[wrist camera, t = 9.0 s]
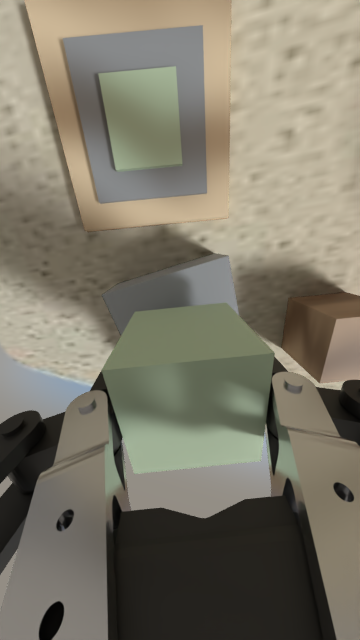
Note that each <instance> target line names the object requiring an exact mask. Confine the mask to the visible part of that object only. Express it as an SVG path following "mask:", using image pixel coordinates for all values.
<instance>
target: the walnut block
mask: <svg viewBox="0 0 360 640" xmlns="http://www.w3.org/2000/svg"><path fill="white" fill-rule="evenodd" d="M281 348H282V349H283V350H284V351H285V352H286V353H288V354H289V355H290V356H291V357H292V358H293V359H294V360H295V361H296V362H297V363H298V364H299V365H300V366H302V367H303V368H304V369H305V370H306V371H307V372H308V373H309V374H310V375H311V376H312V377H313V378H314V379H316V380H317V381H318V382H319V383H329V382H339V381H347V380H359V379H360V296H358V295H354V294H350V293H346V292H345V293H334V294H324V295H314V296H303V297H293V298H288V305H287V312H286V319H285V326H284V332H283V339H282V346H281Z"/></svg>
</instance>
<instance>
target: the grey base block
mask: <svg viewBox="0 0 360 640" xmlns="http://www.w3.org/2000/svg"><path fill="white" fill-rule="evenodd" d="M102 297H103V299H104V301H105V303H106V305H107V307H108V310H109V312H110V314H111V316H112V318H113V320H114V322H115V324H116V326H117V328H118V331H119V333H120V335H122V333H123V332H124V330H125V328H126V326H127V325H128V323H129V321H130V319H131V318H132V316H133V314H134V312H137V311H147V310H157V309H167V308H177V307H187V306H197V305H207V304H216V303H227V304H228V305H229V306H230V307H231V308H232V309H233V310H234V311H235V312H236V313H237V314H238V315H239V312H238V306H237V301H236V295H235V289H234V284H233V278H232V273H231V267H230V262H229V256H227V255H221V254H215V253H214V254H211V255H208V256H205V257H201V258H198V259H195V260H192V261H189V262H185V263H182V264H179V265H176V266H173V267H169V268H166V269H163V270H160V271H157V272H153V273H150V274H147V275H144V276H141V277H137V278H134V279H131V280H128V281H125V282H121V283H118V284H117V285H115V286H114V287H112V288H111V289H109V290H108V291H107V292H105V293H104V294H102Z"/></svg>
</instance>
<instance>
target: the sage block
mask: <svg viewBox="0 0 360 640" xmlns="http://www.w3.org/2000/svg"><path fill="white" fill-rule="evenodd" d="M274 354H275V353H274V352H273V351H272V350H271V349H270V348H269V347H268V346H267V344H266V343H265V342H264V341H263V340H262V339H261V338H260V337H259V336H258V335H257V334H256V333H255V332H254V331H253V330H252V329H251V328H250V327H249V326H248V325H247V324H246V323H245V321H244V320H243V319H242V318H241V317H240V316H239V315H238V314H237V313H236V312H235V311H234V310H233V309H232V308H231V307H230V306H229V305H228V304H227V303H216V304H207V305H197V306H187V307H177V308H167V309H157V310H147V311H137V312H134V314H133V316H132V318H131V319H130V321H129V323H128V325H127V326H126V328H125V330H124V332H123V333H122V335H121V337H120V339H119V341H118V342H117V344H116V346H115V348H114V349H113V351H112V353H111V355H110V356H109V358H108V360H107V362H106V363H105V365H104V367H103V369H102V370H101V371H102V374H103V377H104V380H105V383H106V386H107V390H108V393H109V396H110V399H111V402H112V405H113V408H114V411H115V415H116V418H117V421H118V424H119V427H120V430H121V433H122V437H123V440H124V443H125V446H126V449H127V452H128V455H129V458H130V462H131V465H132V468H133V471H134V474H138V473H148V472H157V471H167V470H177V469H187V468H197V467H206V466H216V465H225V464H236V463H246V462H255V461H261V456H262V448H263V440H264V432H265V425H266V417H267V409H268V401H269V393H270V385H271V378H272V370H273V362H274Z"/></svg>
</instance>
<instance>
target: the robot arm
mask: <svg viewBox="0 0 360 640" xmlns="http://www.w3.org/2000/svg"><path fill="white" fill-rule="evenodd" d="M265 435H266V443H267V452H268V461H269V470H270V480H271V497H264V498H255V499H245V500H243V501H241V502H239V503H237V504H235V505H233V506H231V507H229V508H227V509H225V510H223V511H221V512H219V513H217V514H215V515H213V516H211V517H208V518H198V517H195V516H190V515H187V514H183V513H179V512H176V511H172V510H168V509H164V508H154V509H144V510H134V511H131V506H130V502H129V497H128V487H127V479H126V471H125V461H124V453H123V445H122V433H121V430H120V427H119V424H118V421H117V418H116V415H115V411H114V408H113V405H112V402H111V399H110V396H109V393H108V390H107V386H106V383H105V380H104V377H103V374H102V372H100V374H99V376H98V378H97V379H96V381H95V383H94V385H93V386H92V388H91V390H90V391H89V392H86V393H84V394H82V395H80V396H78V397H77V398H75V399H74V400H73V401H72V402H71V403H70V404H69V406H68V407H67V409H66V412H63V413H61V414H57V415H55V416H52V417H49V418H46V419H43V420H42V418H41V416H40V414H39V413H38V412H37V411H25V412H22V413H19V414H17V415H14V416H12V417H11V418H9V419H7V420H6V421H4V422H3V423H1V424H0V483H1V482H2V481H3V480H4V479H5V478H6V477H7V476H8V477H9V479H10V480H11V481H12V482H13V483H12V484H11V486H10V487H9V488H8V489H7V490H6V492H5V493H4V494H3V495H2V496H1V497H0V574H1V573H2V571H3V570H4V568H5V567H6V565H7V564H8V562H9V561H10V559H11V558H12V556H13V555H14V553H15V552H16V550H17V549H18V550H17V554H16V558H15V561H14V564H13V568H12V571H11V575H10V579H9V582H8V586H7V589H6V593H5V596H4V600H3V604H2V607H1V611H0V640H360V380H347V381H345V382H344V383H343V385H342V389H341V390H333V389H326V388H319V387H315V385H314V384H313V383H312V382H311V381H310V380H309V379H307V378H306V377H304V376H302V375H299V374H296V373H293V372H288V371H287V370H286V369H285V368H284V367H283V365H282V364H281V363H280V362H279V361H278V360H277V359H276V358H275V357H274V362H273V370H272V378H271V385H270V393H269V401H268V409H267V417H266V427H265Z"/></svg>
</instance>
